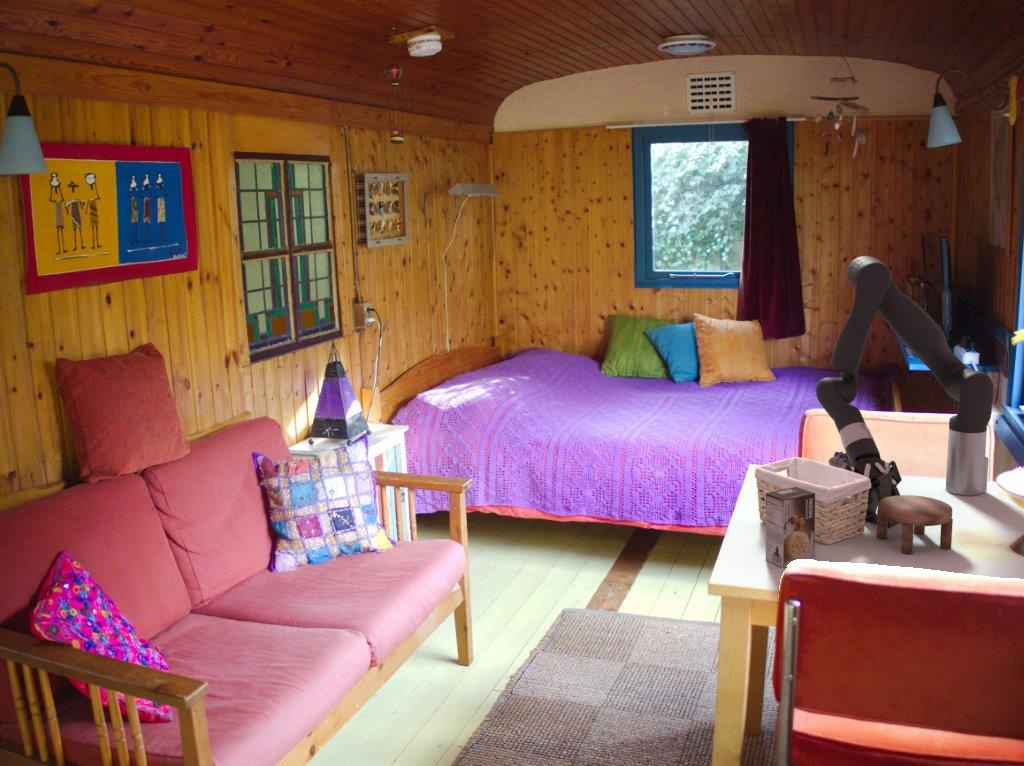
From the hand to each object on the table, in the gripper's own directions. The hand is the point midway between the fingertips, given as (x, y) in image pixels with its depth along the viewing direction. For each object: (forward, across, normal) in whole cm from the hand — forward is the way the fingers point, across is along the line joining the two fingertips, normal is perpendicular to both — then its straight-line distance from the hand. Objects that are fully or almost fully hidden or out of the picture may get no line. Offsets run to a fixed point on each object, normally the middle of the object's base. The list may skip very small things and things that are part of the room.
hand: (883, 501), depth 242 cm
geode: (-16, +12, +24) cm, 31 cm away
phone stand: (+3, 0, +5) cm, 6 cm away
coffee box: (+15, -33, -6) cm, 37 cm away
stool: (+14, -1, -6) cm, 15 cm away
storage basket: (+2, -18, +6) cm, 19 cm away
